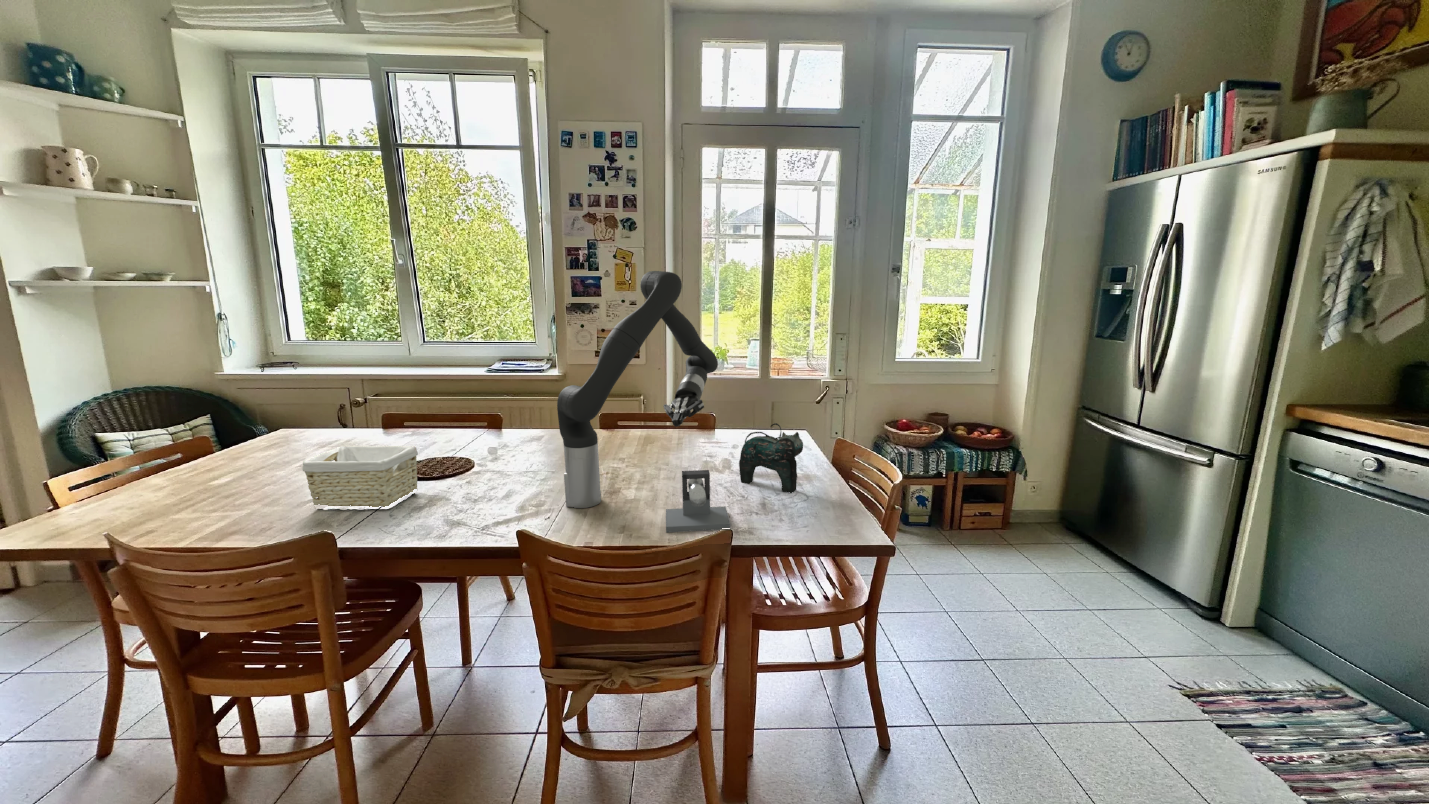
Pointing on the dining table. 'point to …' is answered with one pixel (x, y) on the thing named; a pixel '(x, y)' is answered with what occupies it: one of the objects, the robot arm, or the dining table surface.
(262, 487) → the dining table surface
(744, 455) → the ceramic cat
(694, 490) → the steel peg
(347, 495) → the storage basket
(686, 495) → the rubber collar
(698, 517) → the base plate
